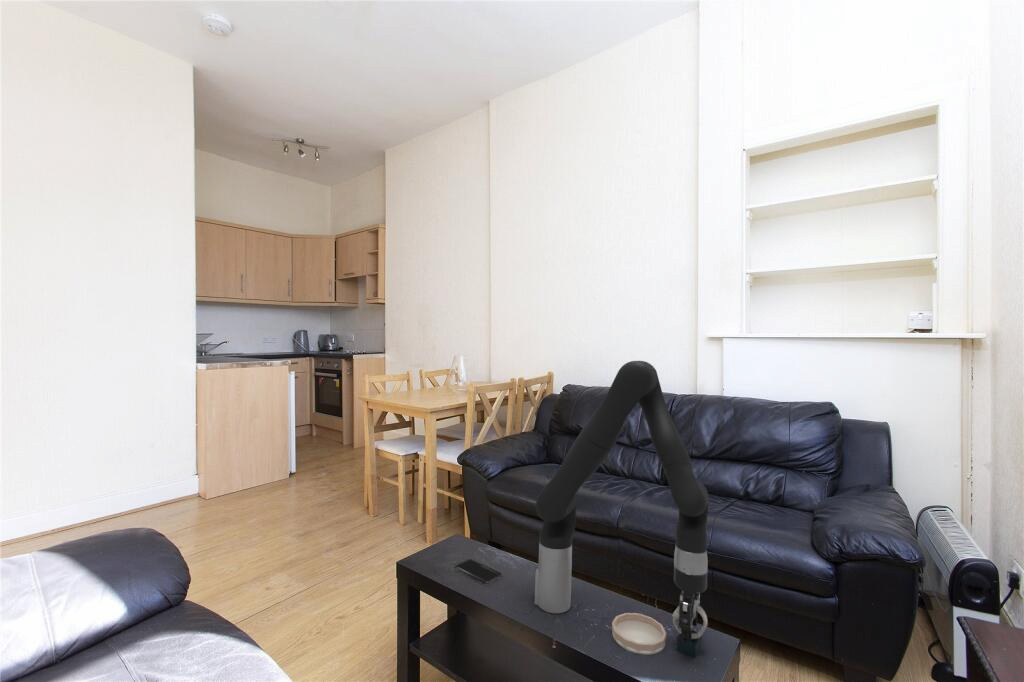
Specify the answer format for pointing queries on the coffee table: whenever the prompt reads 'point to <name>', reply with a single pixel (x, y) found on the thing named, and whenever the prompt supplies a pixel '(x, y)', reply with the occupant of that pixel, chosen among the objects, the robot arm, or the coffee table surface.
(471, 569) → the phone
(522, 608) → the coffee table surface
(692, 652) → the watch
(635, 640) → the dish
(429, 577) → the coffee table surface
